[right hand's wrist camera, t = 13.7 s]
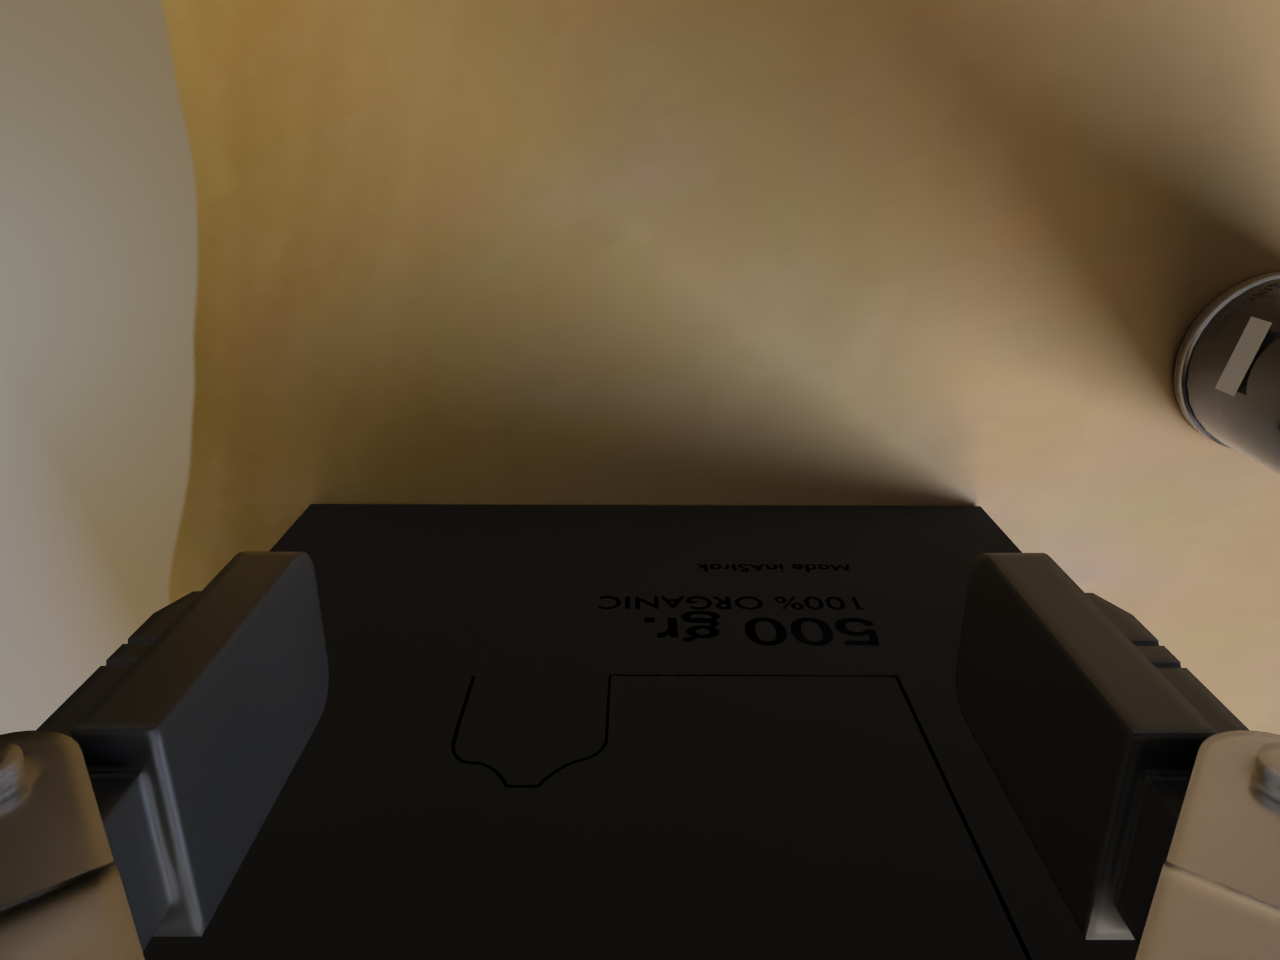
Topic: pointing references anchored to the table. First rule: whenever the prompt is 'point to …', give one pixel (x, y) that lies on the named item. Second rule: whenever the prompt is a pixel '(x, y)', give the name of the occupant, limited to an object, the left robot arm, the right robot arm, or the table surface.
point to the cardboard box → (642, 746)
